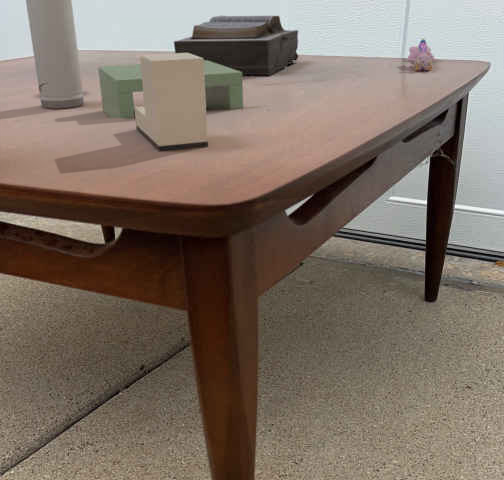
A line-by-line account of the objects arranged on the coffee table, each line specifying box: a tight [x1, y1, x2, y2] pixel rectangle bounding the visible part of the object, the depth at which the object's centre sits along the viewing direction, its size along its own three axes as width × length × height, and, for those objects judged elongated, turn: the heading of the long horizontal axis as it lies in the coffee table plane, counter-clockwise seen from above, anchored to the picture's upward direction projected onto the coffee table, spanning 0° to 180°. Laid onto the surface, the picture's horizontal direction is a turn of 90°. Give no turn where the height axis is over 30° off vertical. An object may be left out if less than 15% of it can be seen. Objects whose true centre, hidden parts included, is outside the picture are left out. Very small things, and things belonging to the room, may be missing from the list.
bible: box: [173, 15, 299, 76], centre depth 140 cm, size 23×27×10 cm
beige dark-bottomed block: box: [134, 52, 209, 152], centre depth 72 cm, size 5×12×10 cm, turn 19°
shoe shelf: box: [97, 60, 244, 119], centre depth 93 cm, size 16×16×6 cm
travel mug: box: [25, 0, 85, 110], centre depth 99 cm, size 6×7×20 cm
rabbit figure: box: [405, 38, 440, 73], centre depth 135 cm, size 6×6×15 cm
